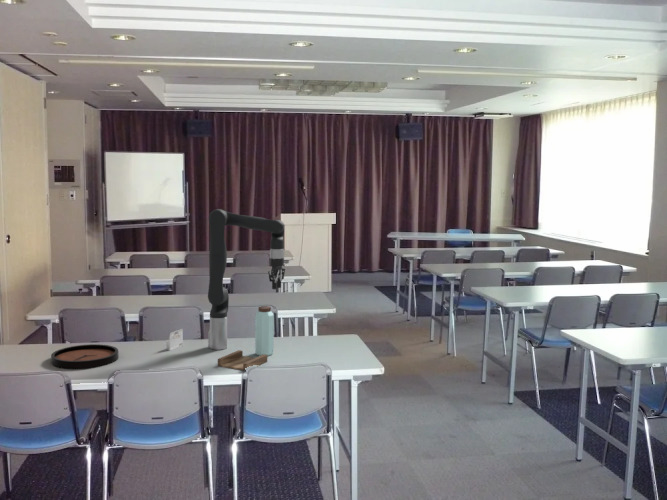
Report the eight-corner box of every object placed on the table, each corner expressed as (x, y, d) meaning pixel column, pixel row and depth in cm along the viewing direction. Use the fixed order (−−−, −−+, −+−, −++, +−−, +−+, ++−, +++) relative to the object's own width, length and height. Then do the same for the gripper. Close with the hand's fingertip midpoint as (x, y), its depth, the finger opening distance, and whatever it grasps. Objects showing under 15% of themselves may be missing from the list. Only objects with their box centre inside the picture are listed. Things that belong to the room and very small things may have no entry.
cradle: (217, 365, 307) (217, 358, 307) (238, 356, 323) (238, 350, 323) (247, 371, 300) (247, 364, 299) (267, 361, 316) (267, 354, 315)
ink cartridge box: (166, 350, 333) (166, 332, 332) (179, 345, 343) (179, 328, 342) (169, 350, 332) (169, 333, 331) (183, 346, 342) (183, 328, 341)
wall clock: (98, 341, 334) (130, 352, 314) (98, 348, 335) (130, 360, 315) (39, 352, 311) (70, 365, 290) (39, 360, 311) (70, 374, 291)
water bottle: (270, 357, 324) (270, 309, 321) (252, 355, 325) (252, 308, 323) (276, 352, 333) (276, 306, 330) (258, 350, 335) (258, 305, 332)
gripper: (277, 255, 342) (277, 286, 344) (263, 258, 330) (263, 289, 332) (289, 256, 339) (289, 287, 341) (276, 259, 326) (275, 291, 328)
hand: (276, 288), depth 336 cm, fingers open, 4 cm apart
